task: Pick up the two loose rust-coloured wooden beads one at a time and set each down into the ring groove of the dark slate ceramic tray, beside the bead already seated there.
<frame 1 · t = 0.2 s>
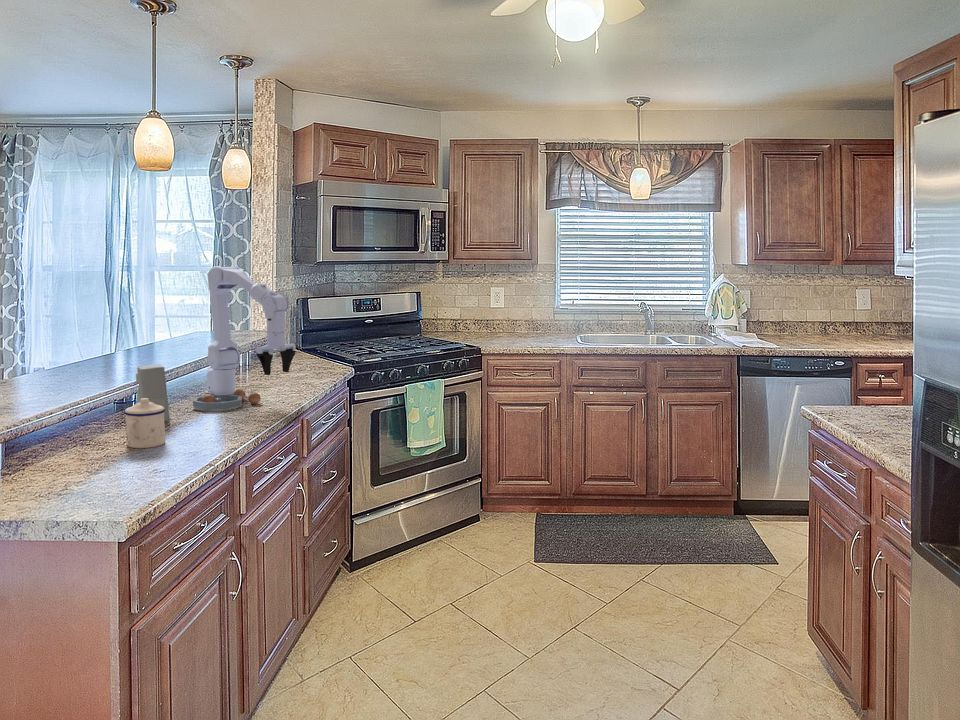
hand: (276, 373, 223), 10 cm above the worktop, tool pointing down, fingers open, 7 cm apart
bead 1: (239, 395, 226), point 2 cm above the worktop
skincare box: (154, 420, 196), on the worktop
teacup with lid: (143, 446, 169), on the worktop
bead seated: (208, 400, 212), point 3 cm above the worktop, touching groove tray
groove tray: (218, 406, 216), on the worktop
bead 2: (254, 398, 221), point 2 cm above the worktop
skincare box 2: (150, 412, 206), on the worktop
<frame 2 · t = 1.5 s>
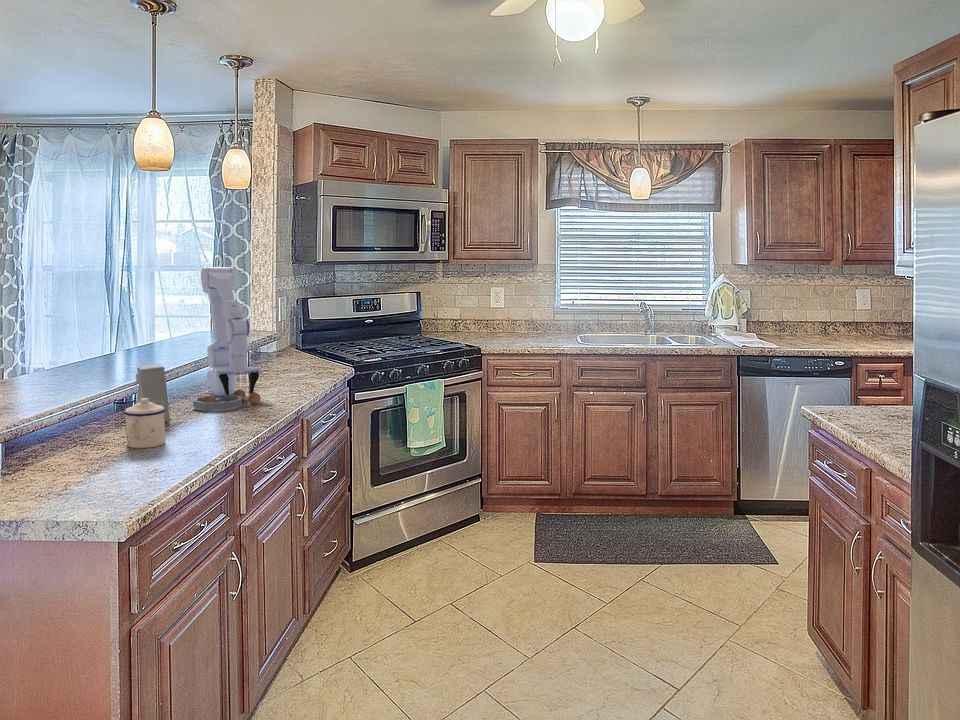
hand: (239, 395, 226), 2 cm above the worktop, tool pointing down, fingers open, 7 cm apart
nothing on the worktop moved.
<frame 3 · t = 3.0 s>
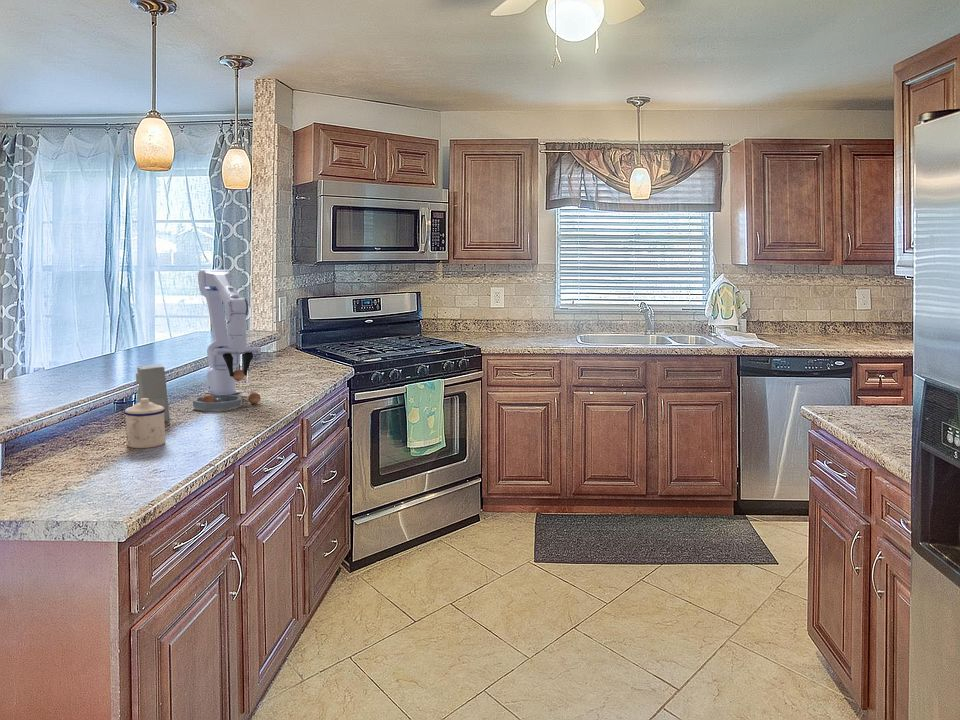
hand: (238, 375, 224), 8 cm above the worktop, tool pointing down, fingers closed on bead 1, 4 cm apart
bead 1: (238, 375, 224), point 9 cm above the worktop, touching gripper
everything else where it was.
when the fingers open (4 cm above the worktop, at t = 4.8 s): bead 1 drops 1 cm, resting on groove tray.
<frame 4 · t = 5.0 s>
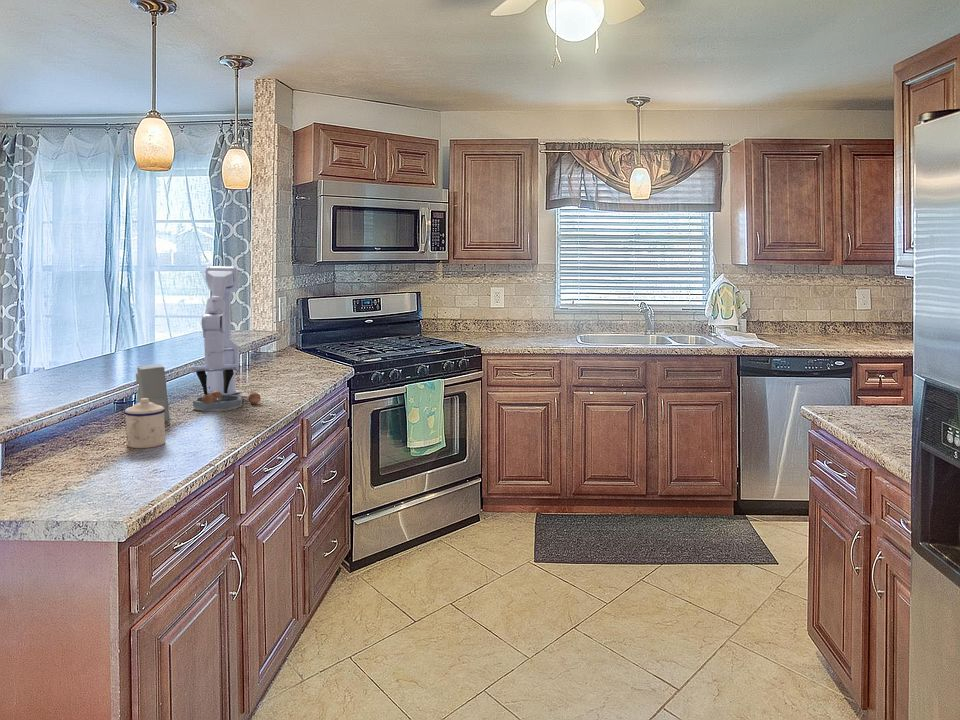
hand: (215, 393, 218), 4 cm above the worktop, tool pointing down, fingers open, 5 cm apart
bead 1: (215, 396, 218), point 3 cm above the worktop, touching groove tray
everything else where it was.
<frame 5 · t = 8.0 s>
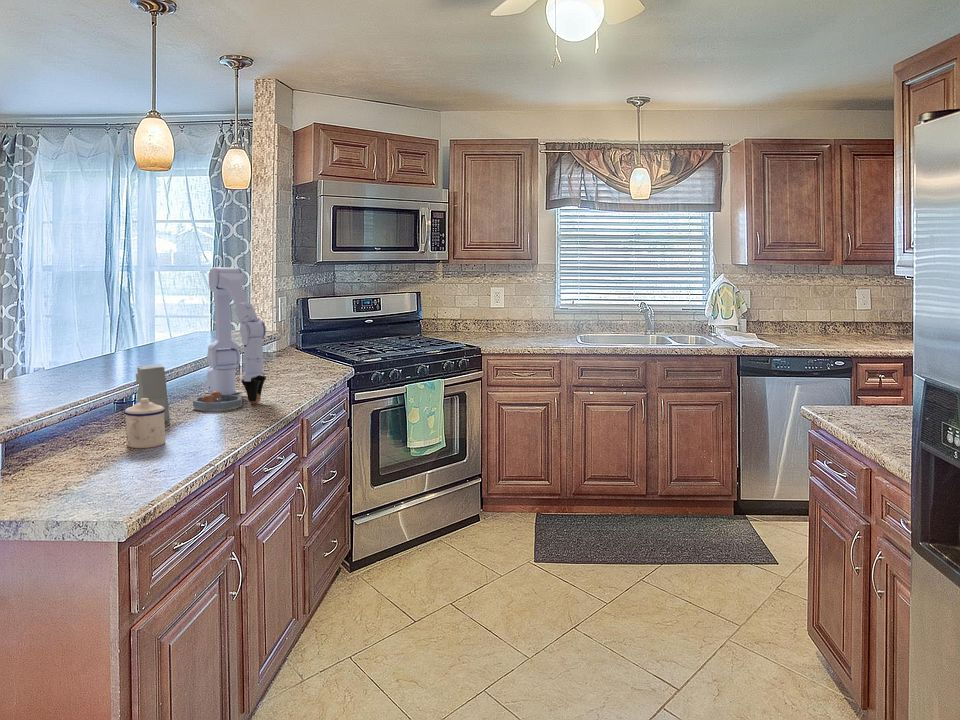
hand: (254, 399, 221), 1 cm above the worktop, tool pointing down, fingers closed on bead 2, 4 cm apart
bead 2: (254, 398, 221), point 2 cm above the worktop, touching gripper
everything else where it was.
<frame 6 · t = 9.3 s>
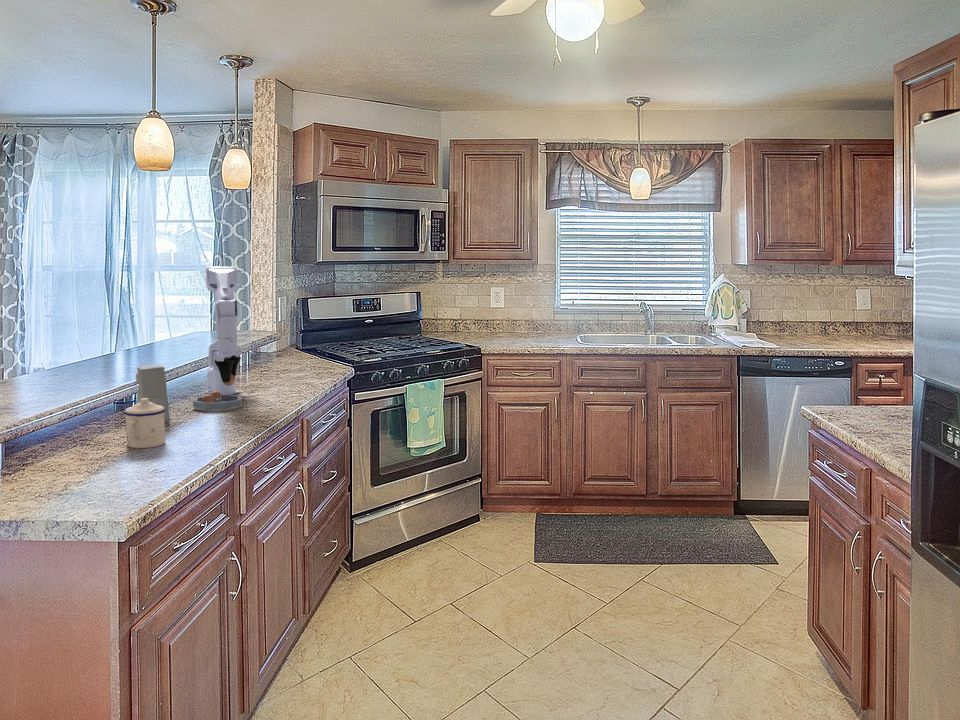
hand: (228, 380, 215), 8 cm above the worktop, tool pointing down, fingers closed on bead 2, 4 cm apart
bead 2: (228, 379, 215), point 9 cm above the worktop, touching gripper
everything else where it was.
when the fingers open (4 cm above the worktop, at t = 10.6 s): bead 2 drops 1 cm, resting on groove tray.
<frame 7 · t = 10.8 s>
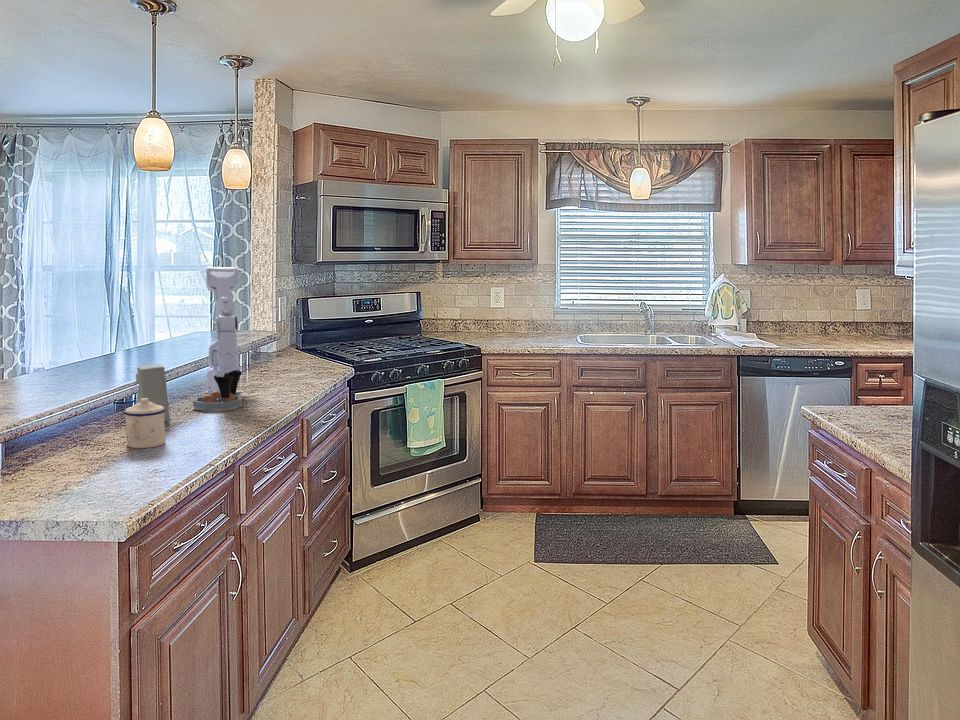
hand: (228, 395, 215), 4 cm above the worktop, tool pointing down, fingers open, 6 cm apart
bead 2: (229, 398, 215), point 3 cm above the worktop, touching groove tray
everything else where it was.
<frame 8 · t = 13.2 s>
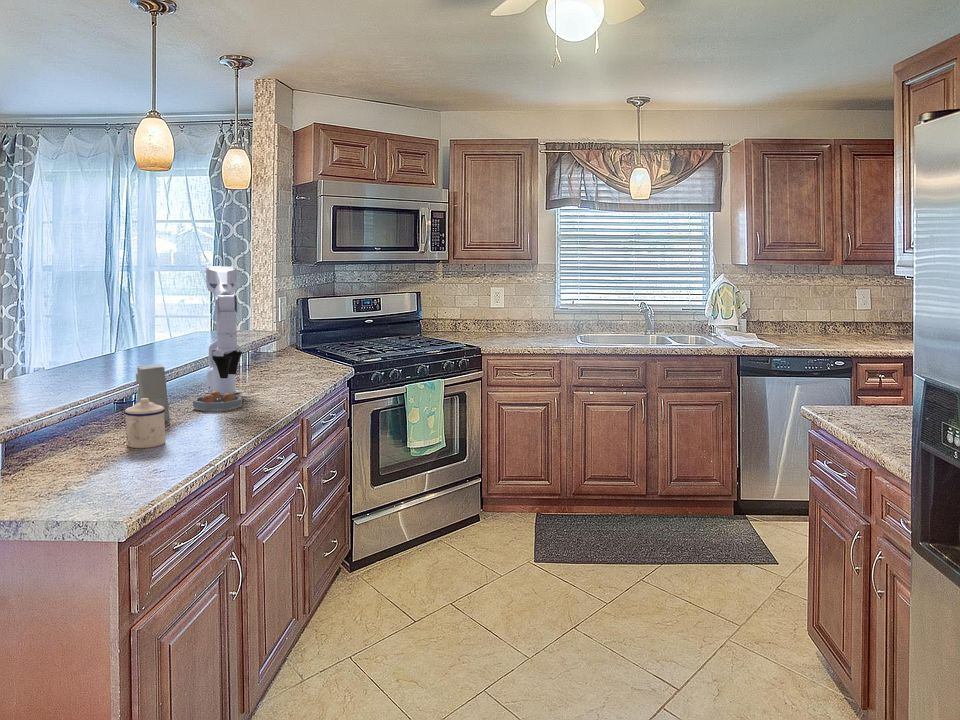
hand: (228, 376, 214), 10 cm above the worktop, tool pointing down, fingers open, 7 cm apart
nothing on the worktop moved.
at the end: bead 1 inside the target area on the groove tray (3.0 cm from its centre), point 2.7 cm above the groove tray's base; bead 2 inside the target area on the groove tray (3.5 cm from its centre), point 2.7 cm above the groove tray's base; bead seated inside the target area on the groove tray (3.5 cm from its centre), point 2.7 cm above the groove tray's base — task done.
